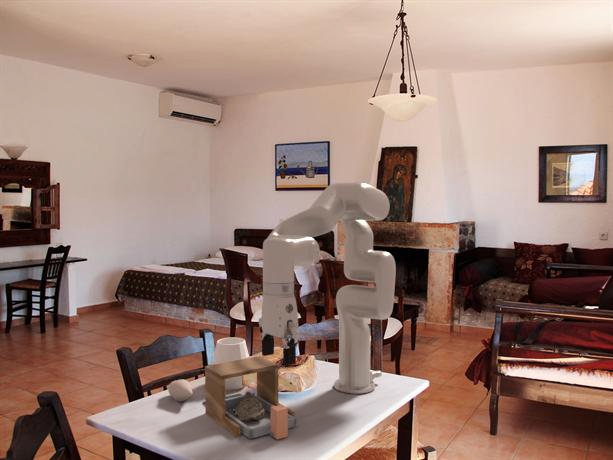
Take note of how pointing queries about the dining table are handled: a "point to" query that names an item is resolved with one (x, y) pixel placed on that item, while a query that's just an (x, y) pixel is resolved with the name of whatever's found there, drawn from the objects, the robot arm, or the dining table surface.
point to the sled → (275, 428)
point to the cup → (230, 357)
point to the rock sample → (249, 409)
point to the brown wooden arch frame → (216, 393)
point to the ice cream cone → (180, 390)
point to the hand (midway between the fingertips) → (278, 359)
